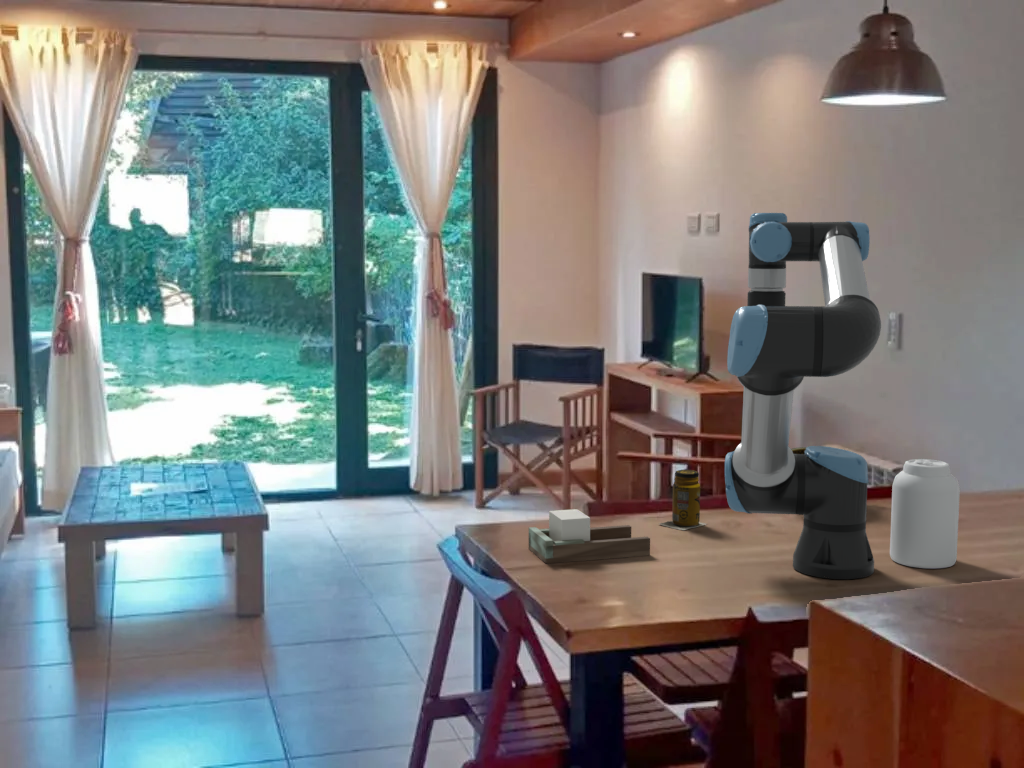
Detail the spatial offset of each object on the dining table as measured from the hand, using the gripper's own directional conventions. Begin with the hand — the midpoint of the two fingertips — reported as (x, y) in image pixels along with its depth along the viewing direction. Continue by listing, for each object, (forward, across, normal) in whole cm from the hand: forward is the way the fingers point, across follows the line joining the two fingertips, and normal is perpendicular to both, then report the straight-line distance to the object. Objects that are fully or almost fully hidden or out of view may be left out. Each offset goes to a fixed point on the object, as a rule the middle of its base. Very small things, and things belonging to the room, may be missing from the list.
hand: (763, 405), depth 245 cm
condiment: (+30, +8, -21) cm, 37 cm away
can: (+30, -25, +20) cm, 44 cm away
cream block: (+28, +40, -5) cm, 49 cm away
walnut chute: (+29, +36, -5) cm, 47 cm away
